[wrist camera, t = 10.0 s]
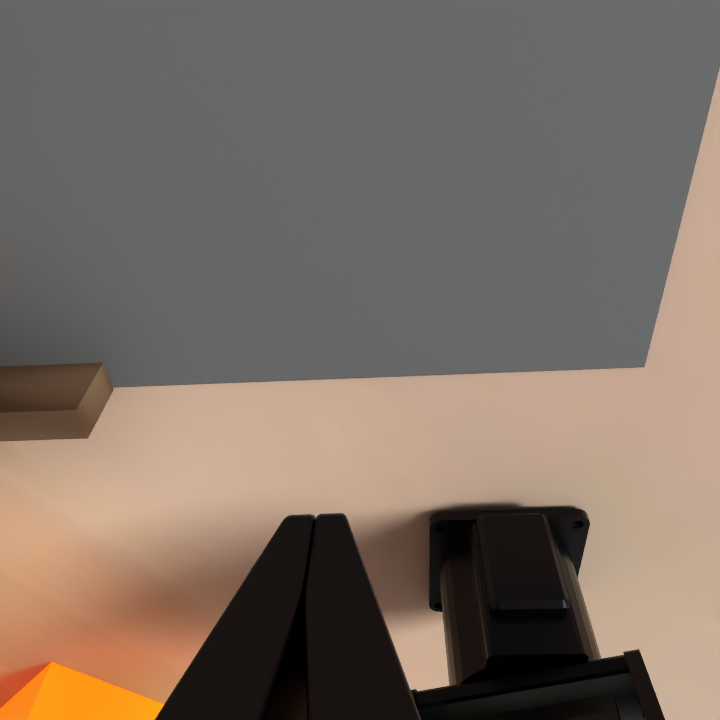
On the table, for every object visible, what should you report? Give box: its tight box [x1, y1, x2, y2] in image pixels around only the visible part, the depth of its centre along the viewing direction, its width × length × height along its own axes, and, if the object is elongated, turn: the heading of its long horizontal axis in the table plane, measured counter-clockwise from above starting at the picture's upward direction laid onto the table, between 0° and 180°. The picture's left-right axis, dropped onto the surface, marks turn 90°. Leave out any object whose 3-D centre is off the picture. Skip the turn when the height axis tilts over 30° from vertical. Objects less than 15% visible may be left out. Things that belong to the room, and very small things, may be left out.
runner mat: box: [0, 0, 720, 387], centre depth 19 cm, size 13×32×1 cm, turn 94°
